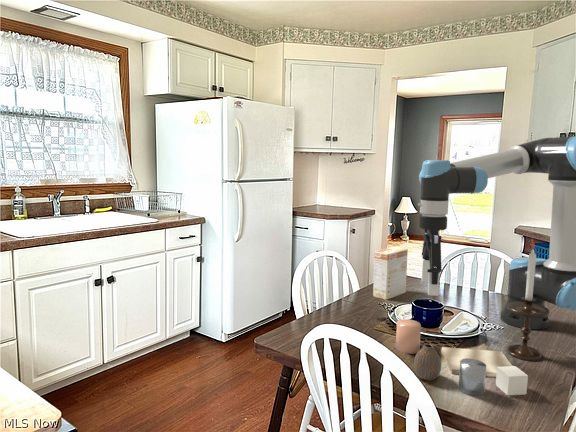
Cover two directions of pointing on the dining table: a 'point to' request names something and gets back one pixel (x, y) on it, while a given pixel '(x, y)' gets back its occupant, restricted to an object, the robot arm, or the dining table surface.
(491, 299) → the dining table surface
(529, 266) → the candlestick
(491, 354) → the birch board
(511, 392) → the cream block
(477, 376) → the grey tin
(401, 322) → the pink pillar candle
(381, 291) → the coffeecake box
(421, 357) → the vase
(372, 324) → the dining table surface
